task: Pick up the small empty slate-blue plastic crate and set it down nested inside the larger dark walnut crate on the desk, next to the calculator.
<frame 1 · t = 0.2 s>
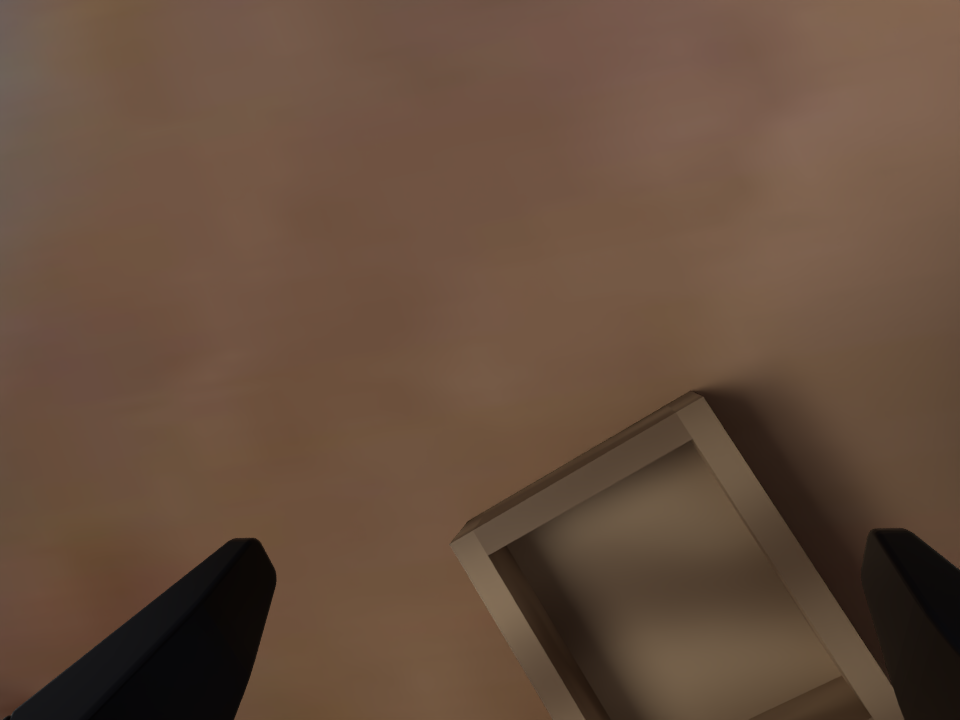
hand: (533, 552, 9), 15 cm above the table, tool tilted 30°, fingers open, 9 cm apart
walnut crate: (660, 596, 23), on the table
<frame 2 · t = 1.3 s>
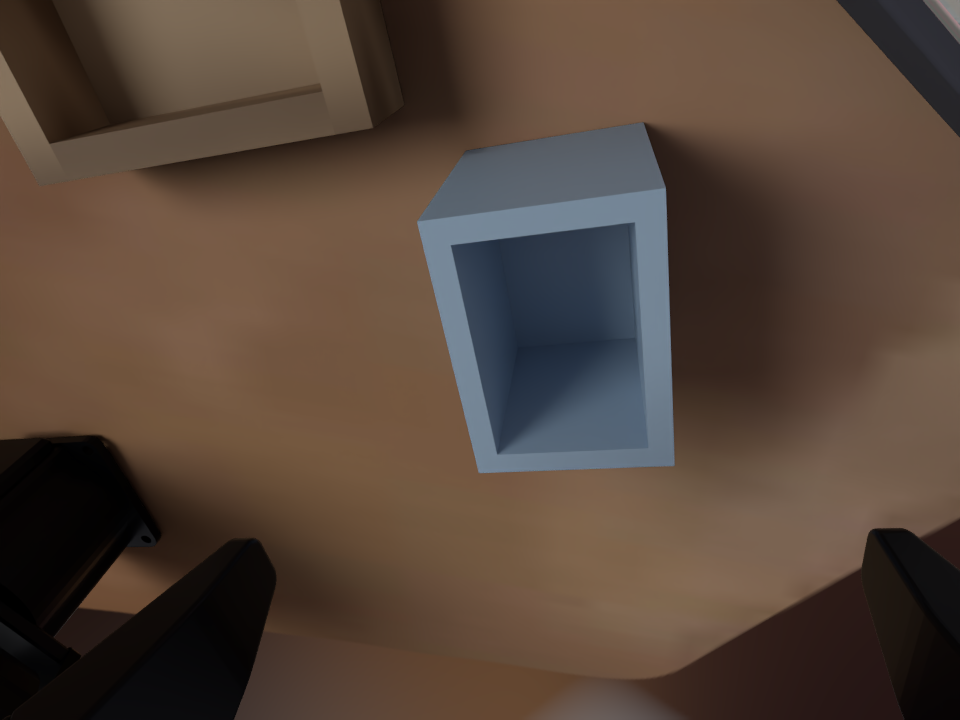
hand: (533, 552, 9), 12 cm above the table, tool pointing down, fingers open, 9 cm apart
small crate: (565, 252, 19), on the table
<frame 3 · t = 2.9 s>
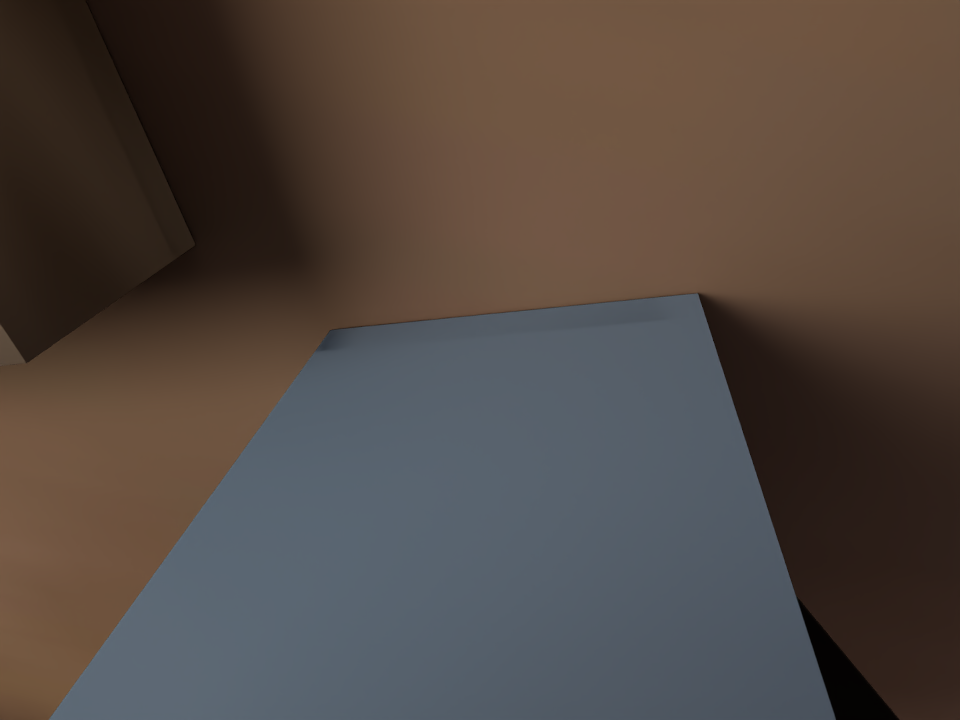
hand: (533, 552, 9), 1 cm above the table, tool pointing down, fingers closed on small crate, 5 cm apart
small crate: (538, 502, 10), on the table, touching gripper
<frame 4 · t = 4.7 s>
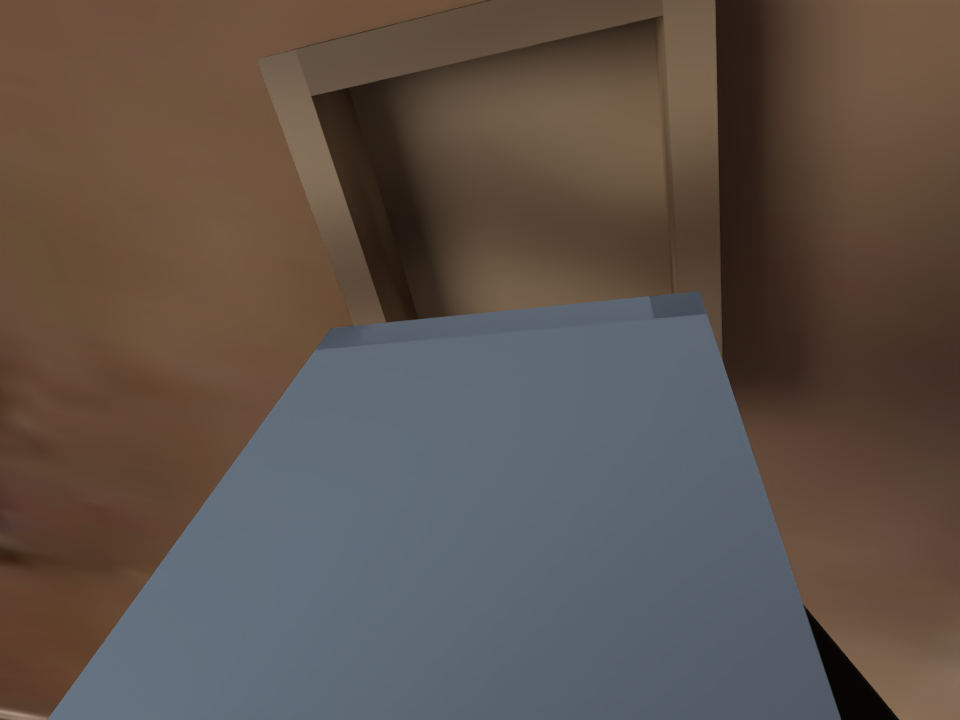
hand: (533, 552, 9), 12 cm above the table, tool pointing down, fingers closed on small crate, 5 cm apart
walnut crate: (526, 226, 18), on the table
small crate: (539, 501, 10), point 11 cm above the table, touching gripper
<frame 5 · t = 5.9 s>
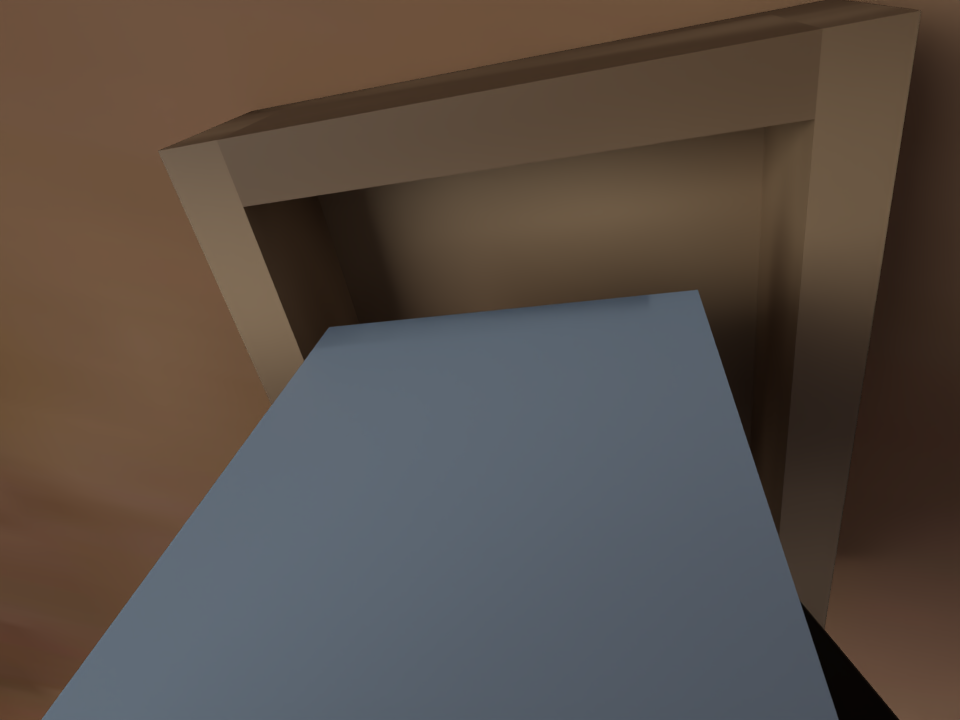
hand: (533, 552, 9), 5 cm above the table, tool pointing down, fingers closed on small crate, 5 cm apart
walnut crate: (554, 357, 13), on the table
small crate: (537, 500, 10), point 4 cm above the table, touching gripper
when the fingers open (4 cm above the table, at t = 6.6 s): small crate drops 2 cm, resting on walnut crate.
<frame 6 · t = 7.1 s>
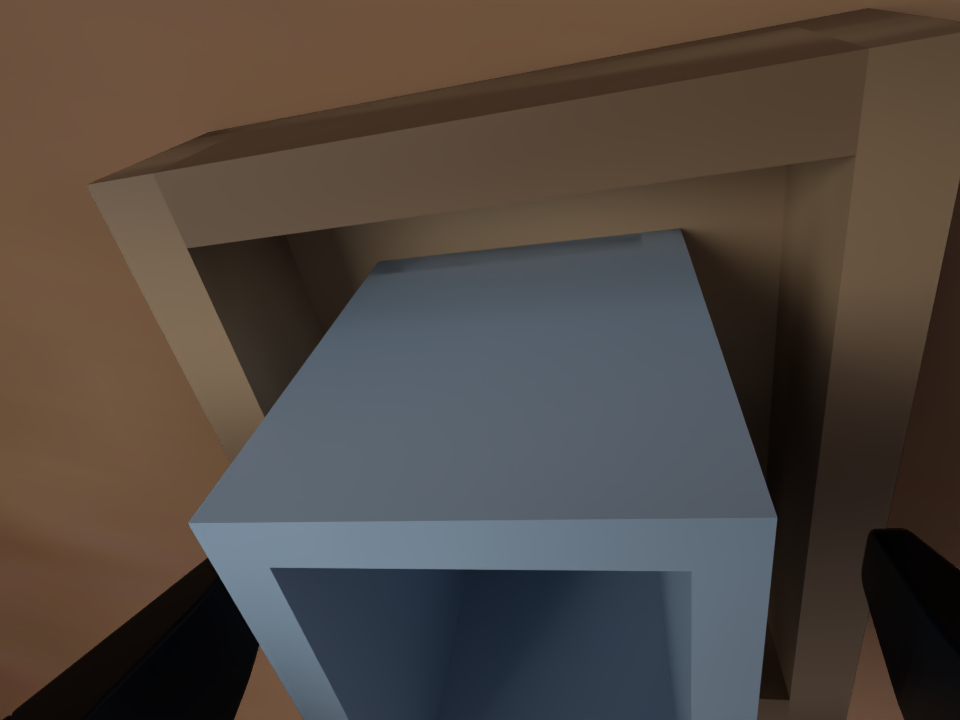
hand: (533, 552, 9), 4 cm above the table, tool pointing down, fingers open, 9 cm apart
walnut crate: (549, 400, 12), on the table
small crate: (546, 415, 12), resting on walnut crate
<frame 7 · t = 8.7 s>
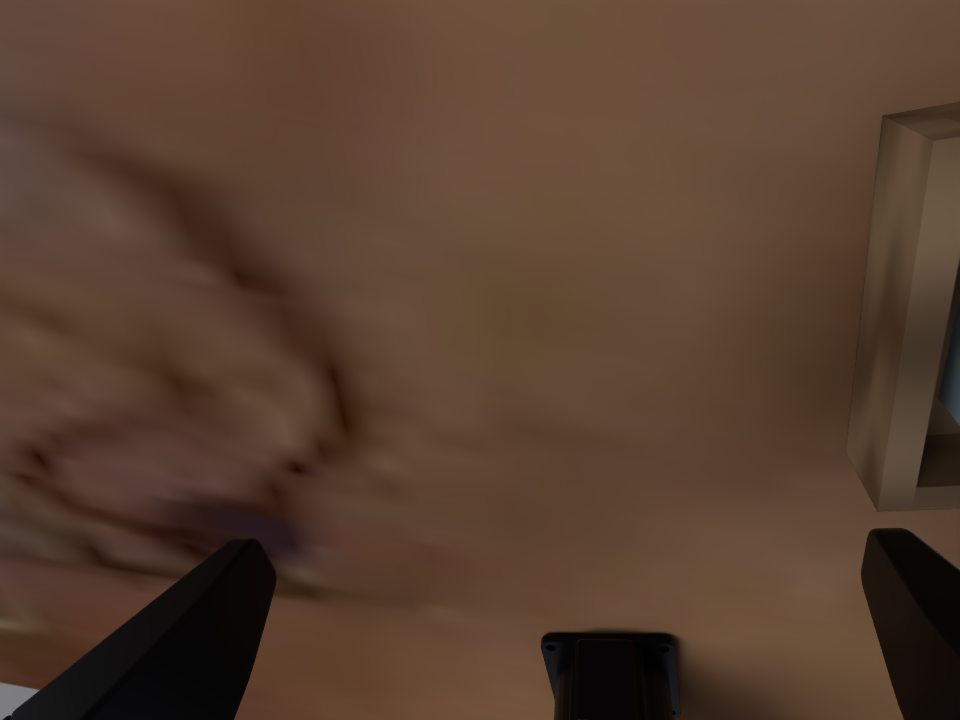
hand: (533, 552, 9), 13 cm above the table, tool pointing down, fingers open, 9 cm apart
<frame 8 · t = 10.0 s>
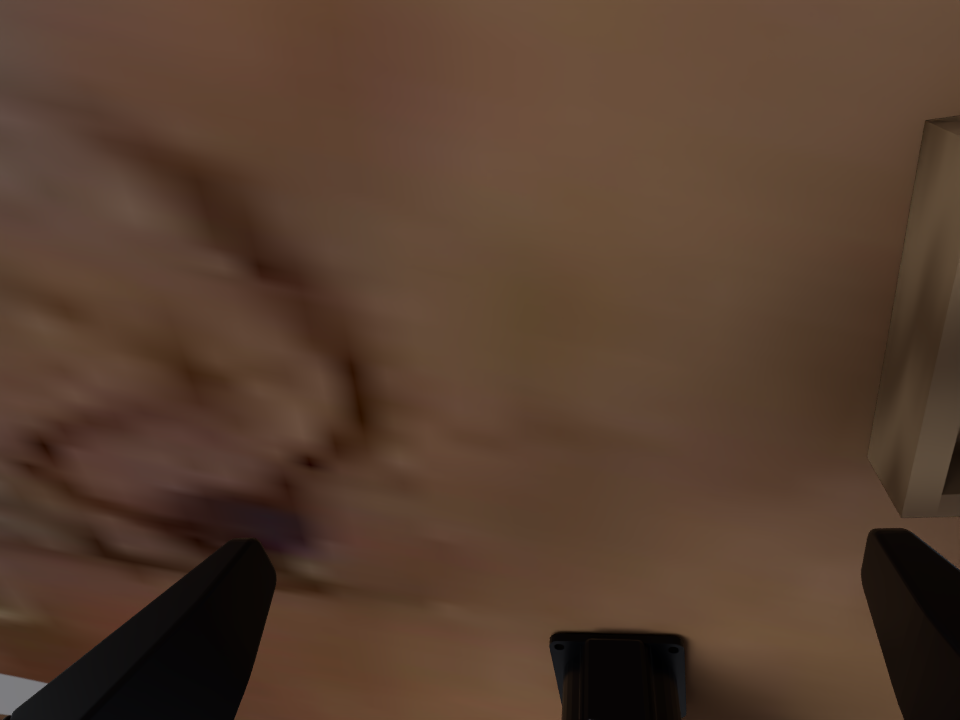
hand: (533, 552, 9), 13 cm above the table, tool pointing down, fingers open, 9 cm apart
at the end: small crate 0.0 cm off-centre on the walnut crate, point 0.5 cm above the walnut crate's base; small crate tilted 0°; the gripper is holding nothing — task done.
